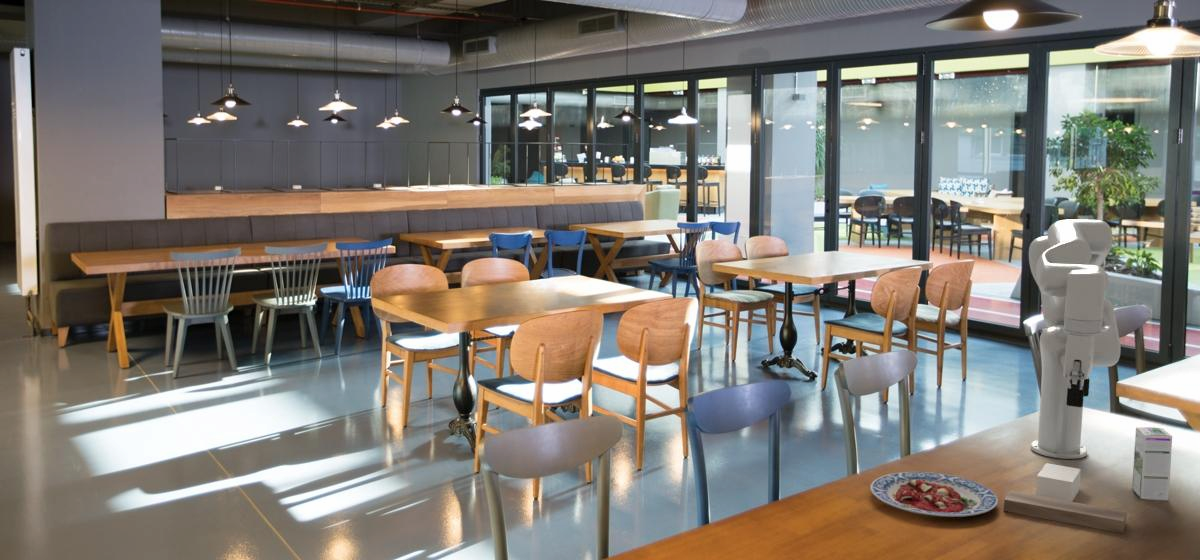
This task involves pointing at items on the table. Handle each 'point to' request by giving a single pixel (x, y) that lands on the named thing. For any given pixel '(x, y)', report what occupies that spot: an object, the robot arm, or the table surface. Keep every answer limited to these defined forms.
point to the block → (1058, 482)
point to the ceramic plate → (934, 494)
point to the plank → (1066, 511)
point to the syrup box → (1152, 463)
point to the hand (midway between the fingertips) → (1077, 400)
